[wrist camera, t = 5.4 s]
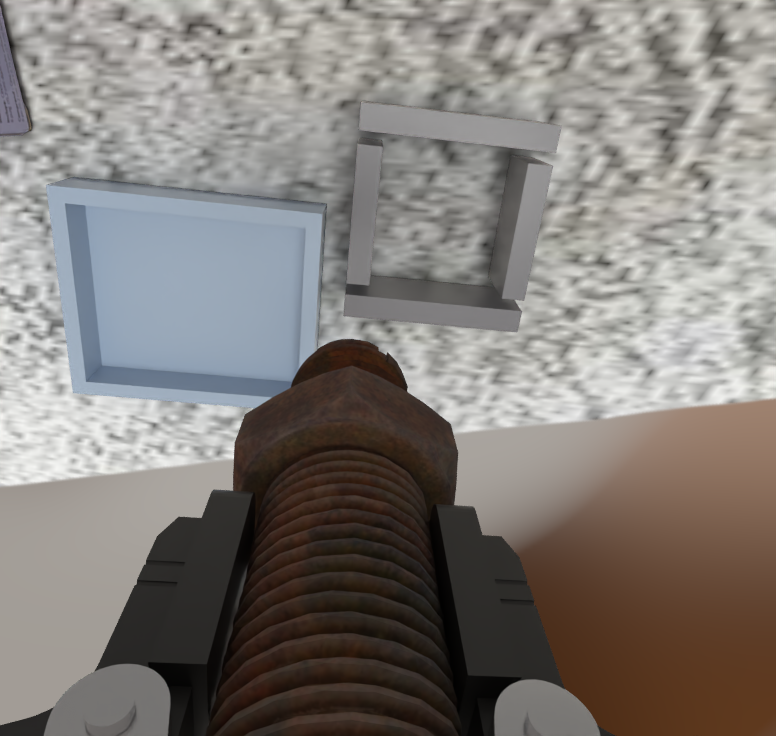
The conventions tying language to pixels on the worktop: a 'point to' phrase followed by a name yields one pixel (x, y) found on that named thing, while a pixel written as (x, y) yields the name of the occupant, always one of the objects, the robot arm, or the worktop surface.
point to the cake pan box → (10, 92)
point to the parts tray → (185, 290)
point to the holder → (513, 231)
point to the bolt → (341, 559)
